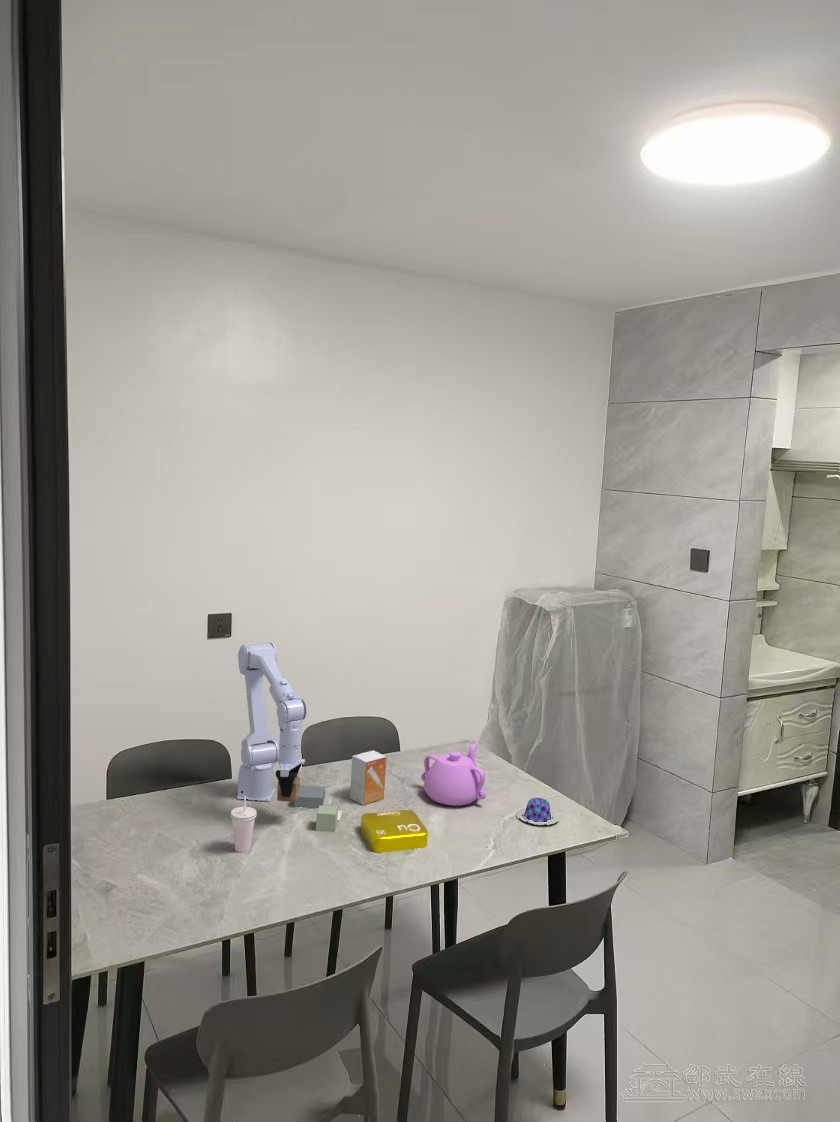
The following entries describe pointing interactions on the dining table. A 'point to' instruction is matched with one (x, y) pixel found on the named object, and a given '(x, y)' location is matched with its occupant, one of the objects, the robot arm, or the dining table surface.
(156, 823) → the dining table surface
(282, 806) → the dining table surface
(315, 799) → the slate block
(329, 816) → the sage cube
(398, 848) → the element tile
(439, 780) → the teapot
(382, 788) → the small box
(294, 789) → the walnut cube
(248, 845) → the smoothie
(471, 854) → the dining table surface
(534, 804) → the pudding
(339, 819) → the card
